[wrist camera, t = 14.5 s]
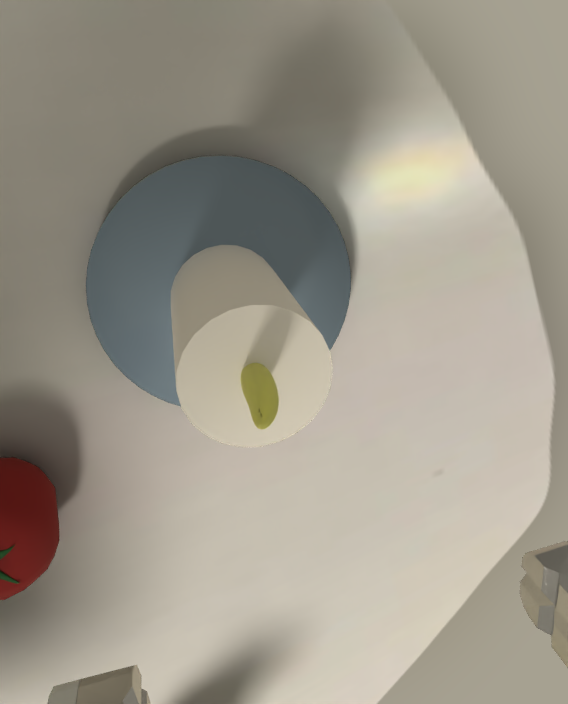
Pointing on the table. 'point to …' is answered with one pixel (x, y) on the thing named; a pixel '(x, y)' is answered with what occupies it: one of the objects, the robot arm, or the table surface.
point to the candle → (244, 350)
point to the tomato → (25, 525)
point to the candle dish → (196, 235)
